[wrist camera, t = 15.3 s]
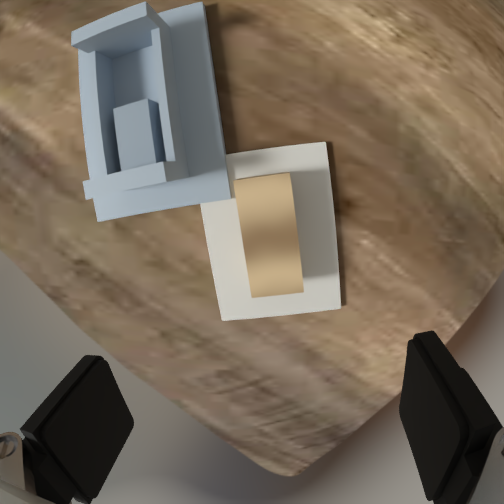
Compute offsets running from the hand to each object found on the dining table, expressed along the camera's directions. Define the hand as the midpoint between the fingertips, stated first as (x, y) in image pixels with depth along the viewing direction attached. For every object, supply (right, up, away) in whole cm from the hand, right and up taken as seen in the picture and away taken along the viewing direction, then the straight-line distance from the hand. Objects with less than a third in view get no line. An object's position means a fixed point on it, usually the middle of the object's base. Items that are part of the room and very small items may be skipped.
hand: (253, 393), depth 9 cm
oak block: (+2, +6, +21) cm, 22 cm away
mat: (+2, +6, +22) cm, 22 cm away
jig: (-10, +18, +19) cm, 28 cm away
